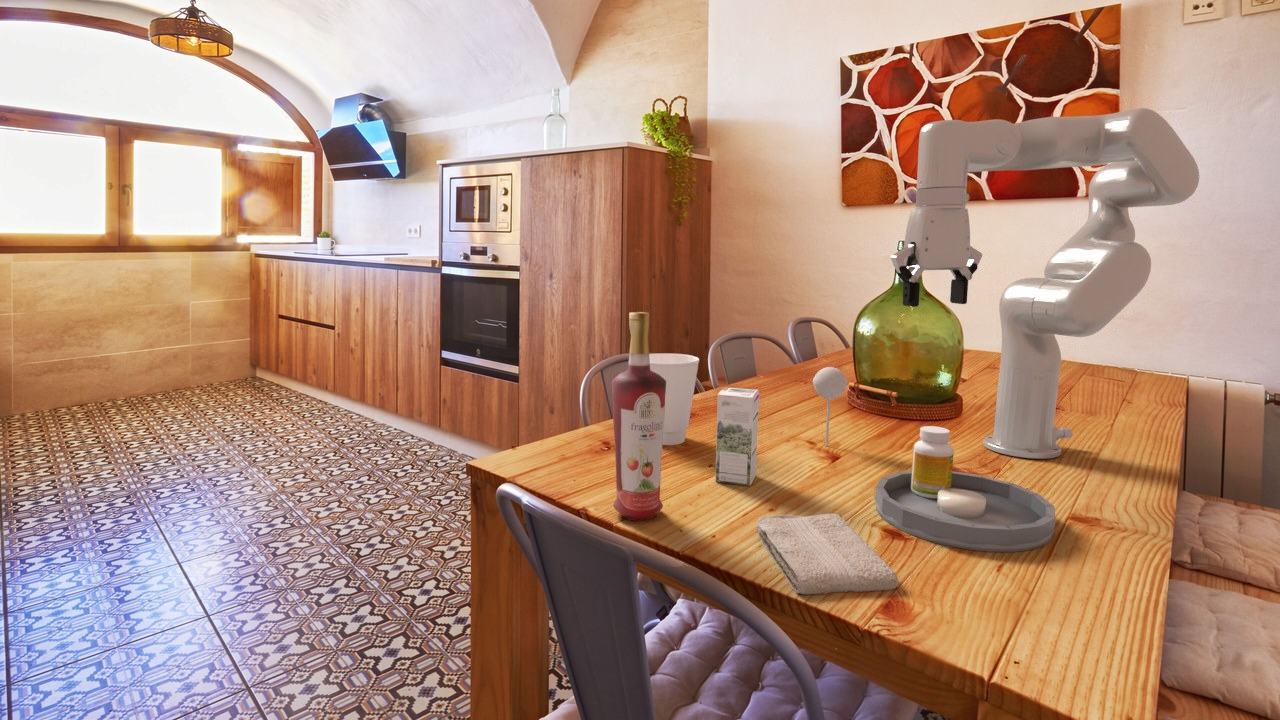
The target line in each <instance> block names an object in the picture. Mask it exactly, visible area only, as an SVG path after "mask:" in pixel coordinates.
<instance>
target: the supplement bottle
mask: <svg viewBox="0 0 1280 720" xmlns="http://www.w3.org/2000/svg"><path fill="white" fill-rule="evenodd" d="M919 430H920V431H919V438H920V440H918V441H917V442H915V443H914V446H913V453H912V455H913V457H912V466H911V471H912V477H911V490H912V492H913V493H915V494H917V495H919V496H922V497H925V498H932V499H938V492H939V491H940V490H942V489H951V479H952V471H953V464H954V455H955V454H954V453H955V450H954V447H953V446H952V445H951V444H950V443H949V441H950V438H951V437H950V436H951V430H949V429H947V428H945V427H940V426H934V425H933V426H932V425H929V426H928V425H925V426H921V427H920V429H919Z"/></svg>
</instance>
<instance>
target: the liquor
mask: <svg viewBox="0 0 1280 720" xmlns="http://www.w3.org/2000/svg"><path fill="white" fill-rule="evenodd" d="M628 315H629V316H628V317H629V324H628V325H629V331H630V332H629V333H630V335H631V336H630V345H629V356H628V365H627V370H624V372H623V371H622V372H620V373H619V374H618V375H617V376H615V377H613V379H612V380H611V391H612V392H611V395H612V421H613V433H614V434H613V437H614V451H615V452H614V454H615V457H614V458H615V459H614V460H615V479H616V480H615V485H616V487H615V488H616V489H615V491H616V492H615V493H616V499H615V500H614V503H613V505H612V506H613V508H614V510H615V511H616V512H617V513H618V514H620V515H621V516H622V517H623V518H625V519H627V520H631V521H647V520H650V519H652V518H654V517H655V516H656V515H657V514H658V513H659V512H660V511H661V510H662V509H663V507H664V504H663V502H662V501H661V498H660V496H661V473H662V453H663V452H662V451H663V445H662V440H663V427H664V413H665V393H666V380H665V379H664V378H662V377H661V376H660V375H659V374H657V373H655V372H653V371H650V360H649V354H650V348H649V337H648V336H649V330H650V317H651V316H650V312H648V311H647V312H645V311H636V312H634V311H633V312H629V314H628Z"/></svg>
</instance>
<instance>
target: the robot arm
mask: <svg viewBox="0 0 1280 720" xmlns="http://www.w3.org/2000/svg"><path fill="white" fill-rule="evenodd" d="M918 137H919V139H918V152H917V153H918V154H917V155H918V157H917V175H916V195H915V209H911V210H910V214H909V215H908V216H909V217H908V221H907V225H906V229H905V237H904V242H903V243H904V244H903V248H902V249H900V250H898V251H896V253H894V254H892V255H891V256H890V259H891V262H892V265H893V267H894V272H895V274H897V276H898V277H899V280H900V281H901V282H902V283H903V285H902V306H906V307H911V308H912V307H913V308H916V307H918V306H919V305H920V289H921V287H920V286H921V284H920V282H917V281H918V279H919V278H920V277H921V275H922V274H923V273H924V271H945V270H946V271H947V270H948V271H950V273H951V274H952V276H953V277H954V279H953V278H952V279H951V281H950V297H949V302H950V303H951V304H957V305H967V303H968V294H969V293H968V289H969V281H971V280H972V279H973V274H974V273H976V271H977V270H978V265H979V263H980V261H981V259H982V258H983V253H982V252H981V251H979V250H978V249H977V248H974V247H973V246H971V229H970V228H971V226H970V217H969V216H970V215H969V210H968V208H966V207H967V206H966V204H967V203H966V202H969V200H970V194H969V193H967V190H968V189H967V187H968V186H967V185H968V173H977V172H978V173H981V172H993V171H994V172H995V171H1033V170H1043V169H1044V170H1045V169H1047V170H1048V169H1058V168H1059V169H1060V168H1078V167H1079V168H1080V167H1081V168H1083V167H1091V166H1093V167H1095V166H1102V165H1103V167H1101V168H1100V169H1098V170H1097V171H1096V172H1095V173H1094V175H1092V178H1091V180H1090V181H1089V182H1090V183H1089V186H1088V216H1087V219H1086V220H1087V221H1086V222H1085V223H1084V224H1083V225H1082V227H1081V228H1079V230H1077V232H1076V233H1074V234H1073V236H1071V237H1069V239H1068V240H1067V241H1066V242H1065V243H1064V244H1063V245H1061V246H1060V247H1059V249H1057V250H1056V251H1055V253H1053V255H1052V256H1050V258H1049V259H1048V261H1047V262H1046V263H1045V264H1046V265H1045V267H1044V271H1043V272H1044V274H1043V275H1044V277H1026V278H1022V279H1021V278H1020V279H1018V280H1015V281H1013V282H1011V283H1010V284H1009V285H1007V287H1006V288H1005V289H1004V290H1003V292H1002V293H1001V295H1000V298H999V299H1000V300H999V307H998V308H999V309H998V313H999V319H1000V326H1001V351H1000V362H999V375H998V382H997V383H998V384H997V393H996V394H997V395H996V402H995V403H996V405H995V413H994V415H995V416H994V424H993V434H990V435H987V436H985V437H984V438H983V440H982V441H983V442H982V443H983V446H984V447H985V448H987V449H988V450H989V451H993V452H995V453H999V454H1002V455H1007V456H1010V457H1011V456H1012V457H1016V458H1024V459H1034V460H1035V459H1036V460H1037V459H1038V460H1040V459H1041V460H1044V459H1045V460H1046V459H1054V458H1058V457H1060V456H1061V454H1062V447H1061V446H1060V445H1059V444H1057V441H1058V440H1059V439H1060V440H1061V439H1070V438H1072V437H1073V430H1072V429H1071V428H1070V427H1059V428H1058V427H1057V426H1055V419H1056V410H1057V409H1056V408H1057V399H1058V390H1059V384H1060V381H1059V380H1060V376H1061V375H1060V372H1061V367H1062V366H1061V365H1062V353H1061V349H1060V345H1059V343H1058V340H1057V338H1056V336H1055V335H1058V336H1065V337H1072V338H1084V337H1090V336H1092V335H1095V334H1097V333H1098V332H1100V331H1101V330H1103V328H1105V327H1106V326H1107V325H1108V324H1110V322H1112V321H1113V319H1114V318H1116V316H1118V315H1119V314H1120V312H1121V311H1122V310H1124V309H1125V307H1127V306H1128V305H1129V304H1130V303H1131V302H1132V301H1133V300H1134V299H1135V298H1136V297H1137V296H1138V294H1140V292H1141V291H1142V290H1143V288H1144V287H1145V286H1146V284H1147V281H1148V280H1149V277H1150V274H1151V269H1152V260H1151V256H1150V254H1149V252H1148V250H1147V249H1146V248H1145V247H1144V246H1143V245H1142V244H1140V243H1138V242H1135V239H1136V230H1135V227H1134V224H1133V222H1132V221H1131V217H1130V214H1129V208H1141V207H1143V208H1144V207H1163V206H1173V205H1176V204H1180V203H1183V202H1185V201H1187V200H1189V198H1190V197H1192V196H1193V195H1194V193H1195V192H1196V190H1197V188H1198V186H1199V183H1200V171H1199V166H1198V164H1197V162H1196V160H1195V157H1194V156H1193V155H1192V154H1191V152H1190V150H1189V149H1188V147H1186V145H1185V144H1184V142H1183V141H1182V139H1181V138H1180V137H1179V135H1178V133H1177V132H1176V131H1175V130H1174V128H1173V127H1172V126H1171V125H1170V123H1169V122H1168V121H1167V120H1166V119H1165V118H1164V117H1163V116H1162V115H1161V114H1159V113H1158V112H1157V111H1155V110H1153V109H1150V108H1145V107H1139V108H1133V109H1129V110H1124V111H1119V112H1114V113H1108V114H1100V115H1082V116H1081V115H1079V116H1048V117H1047V116H1046V117H1041V118H1034V119H1029V120H1028V119H1027V120H1025V121H1020V122H1015V123H1012V122H1011V121H1008V120H1005V119H1001V118H1000V119H997V118H996V119H988V120H980V121H964V120H961V119H946V120H944V119H943V120H937V121H931V122H928V123H926V124H925V125H923V126H922V127H921V128H920V131H919V136H918Z"/></svg>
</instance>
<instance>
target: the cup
mask: <svg viewBox="0 0 1280 720" xmlns="http://www.w3.org/2000/svg"><path fill="white" fill-rule="evenodd" d="M649 360H650V371H653V372H655V373H657V374H659V375H660V376H661V377H662V378H664V379H665V380H666V393H665V413H664V427H663V440H662V446H675V445H676V446H677V445H680V444H681V445H682V444H683V443H685V441H686V435H687V434H686V433H687V430H688V428H689V424H690V418H691V413H692V407H693V406H692V405H693V401H694V400H693V399H694V393H695V386H696V382H697V374H698V369H699V363H700V358H699V357H697V356H694V355H691V354H683V353H651V354H650V353H649Z"/></svg>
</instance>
